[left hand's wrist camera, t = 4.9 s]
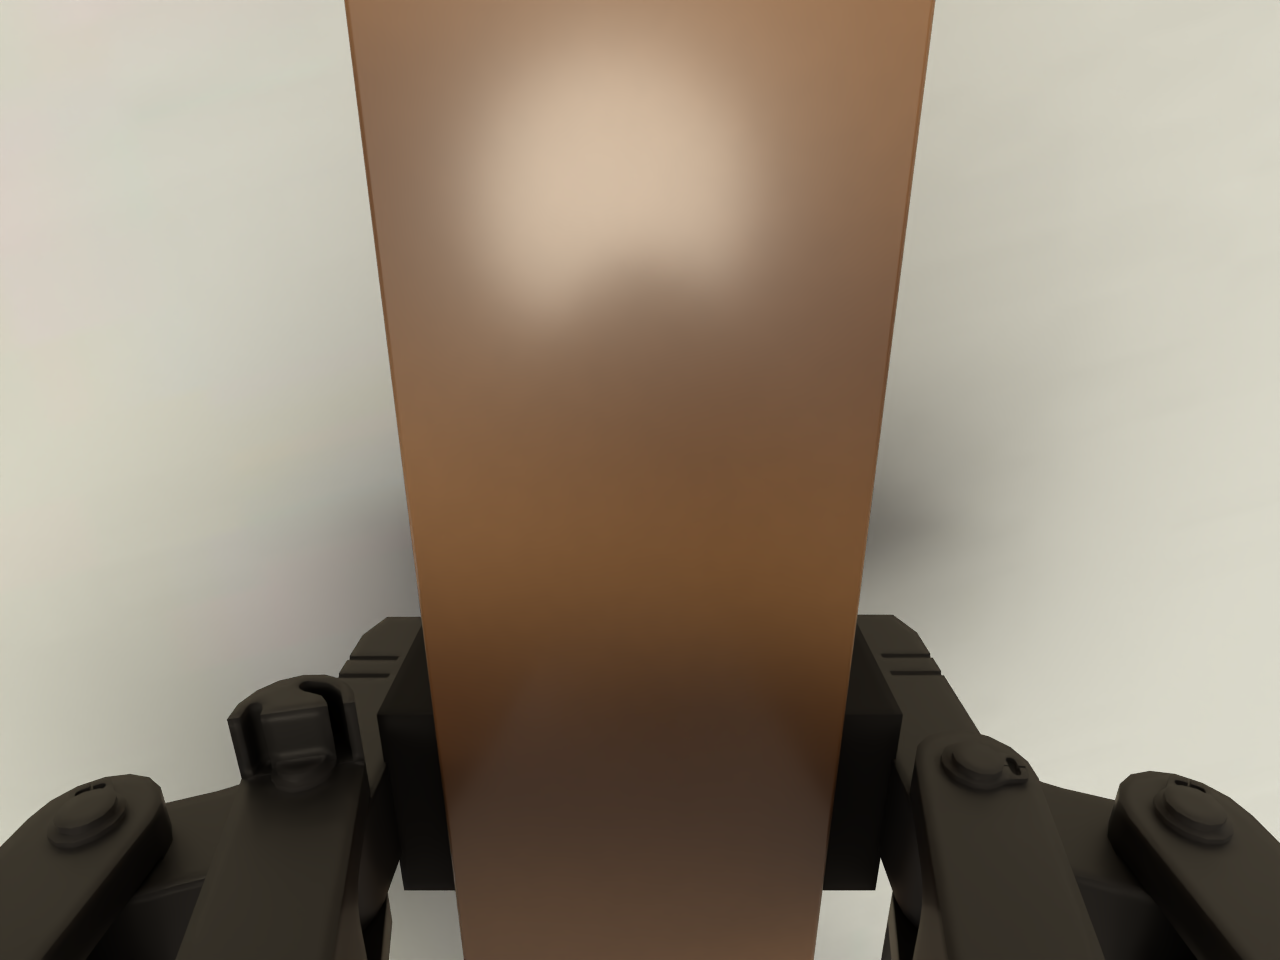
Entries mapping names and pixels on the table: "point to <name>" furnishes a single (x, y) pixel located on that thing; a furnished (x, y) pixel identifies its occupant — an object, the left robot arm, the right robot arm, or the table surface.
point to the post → (639, 438)
